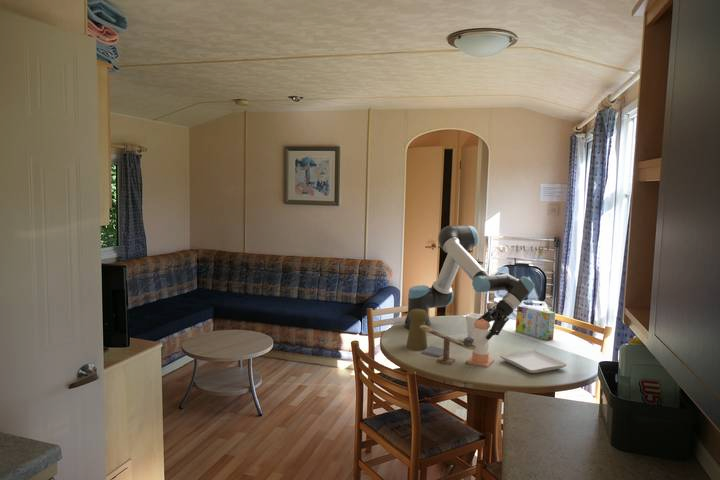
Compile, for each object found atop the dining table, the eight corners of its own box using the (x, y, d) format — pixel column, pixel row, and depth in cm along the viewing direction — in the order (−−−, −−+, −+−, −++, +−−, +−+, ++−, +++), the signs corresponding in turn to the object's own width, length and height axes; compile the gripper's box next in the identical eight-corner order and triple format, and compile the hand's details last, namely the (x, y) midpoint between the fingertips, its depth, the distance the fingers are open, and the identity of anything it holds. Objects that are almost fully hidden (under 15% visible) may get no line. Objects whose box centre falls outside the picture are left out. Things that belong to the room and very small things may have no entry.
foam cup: (481, 337, 265) (483, 314, 263) (484, 342, 255) (485, 318, 254) (464, 336, 266) (465, 313, 264) (466, 341, 256) (467, 317, 255)
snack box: (553, 339, 265) (555, 312, 264) (547, 341, 262) (549, 313, 260) (521, 329, 282) (522, 304, 281) (514, 331, 279) (516, 305, 278)
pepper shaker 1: (412, 342, 253) (414, 306, 251) (431, 346, 247) (432, 309, 245) (402, 347, 244) (403, 309, 242) (421, 352, 238) (422, 313, 236)
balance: (416, 357, 230) (417, 326, 229) (422, 354, 235) (423, 324, 234) (471, 369, 216) (473, 337, 214) (476, 365, 221) (478, 334, 219)
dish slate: (421, 353, 236) (421, 351, 236) (430, 347, 245) (430, 346, 245) (441, 357, 231) (441, 355, 231) (449, 351, 239) (449, 349, 239)
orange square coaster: (465, 362, 225) (465, 360, 224) (473, 356, 233) (473, 354, 233) (487, 367, 219) (487, 365, 219) (494, 361, 228) (494, 359, 228)
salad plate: (530, 377, 210) (531, 369, 209) (498, 361, 229) (498, 354, 229) (568, 371, 218) (568, 363, 218) (533, 356, 237) (533, 349, 237)
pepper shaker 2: (476, 363, 222) (479, 321, 219) (469, 357, 229) (471, 317, 226) (491, 361, 224) (493, 320, 221) (483, 356, 230) (485, 316, 228)
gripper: (490, 294, 237) (458, 328, 234) (516, 305, 215) (482, 342, 213) (499, 304, 239) (468, 338, 236) (526, 316, 217) (493, 353, 214)
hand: (475, 340), depth 224 cm, fingers open, 10 cm apart
